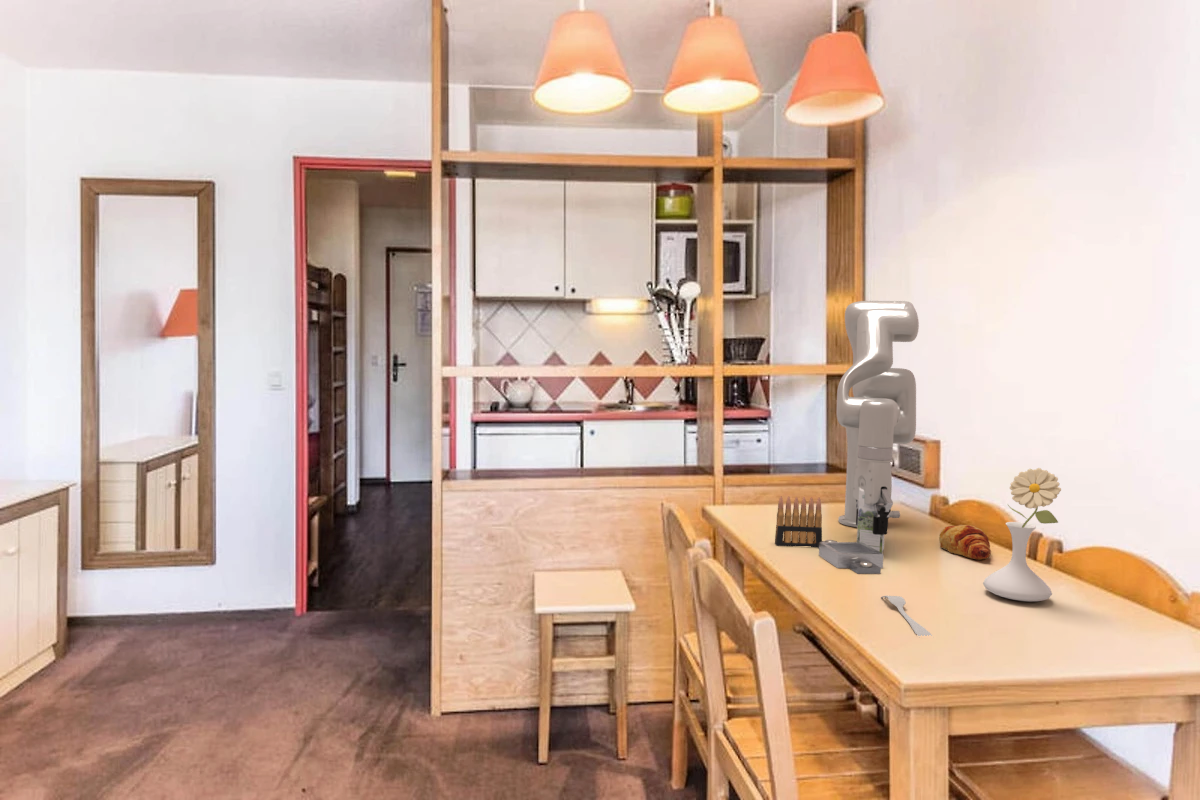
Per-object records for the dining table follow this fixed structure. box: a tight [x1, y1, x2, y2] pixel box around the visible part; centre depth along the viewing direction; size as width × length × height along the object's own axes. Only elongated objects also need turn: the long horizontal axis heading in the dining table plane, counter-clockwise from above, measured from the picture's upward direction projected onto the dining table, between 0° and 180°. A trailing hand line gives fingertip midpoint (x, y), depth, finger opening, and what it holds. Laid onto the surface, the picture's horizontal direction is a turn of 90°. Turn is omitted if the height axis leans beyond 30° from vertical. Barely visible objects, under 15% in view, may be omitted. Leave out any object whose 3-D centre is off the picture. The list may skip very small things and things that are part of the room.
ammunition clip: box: [774, 496, 823, 548], centre depth 175 cm, size 11×2×12 cm, turn 87°
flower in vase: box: [982, 467, 1062, 602], centre depth 140 cm, size 13×11×25 cm
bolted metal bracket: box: [816, 539, 884, 575], centre depth 165 cm, size 10×22×3 cm, turn 6°
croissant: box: [938, 524, 992, 561], centre depth 174 cm, size 21×10×8 cm, turn 179°
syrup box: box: [856, 488, 885, 554], centre depth 172 cm, size 6×6×14 cm
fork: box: [880, 595, 933, 637], centre depth 129 cm, size 3×21×3 cm, turn 177°
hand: (871, 529), depth 172 cm, fingers closed on syrup box, 7 cm apart
